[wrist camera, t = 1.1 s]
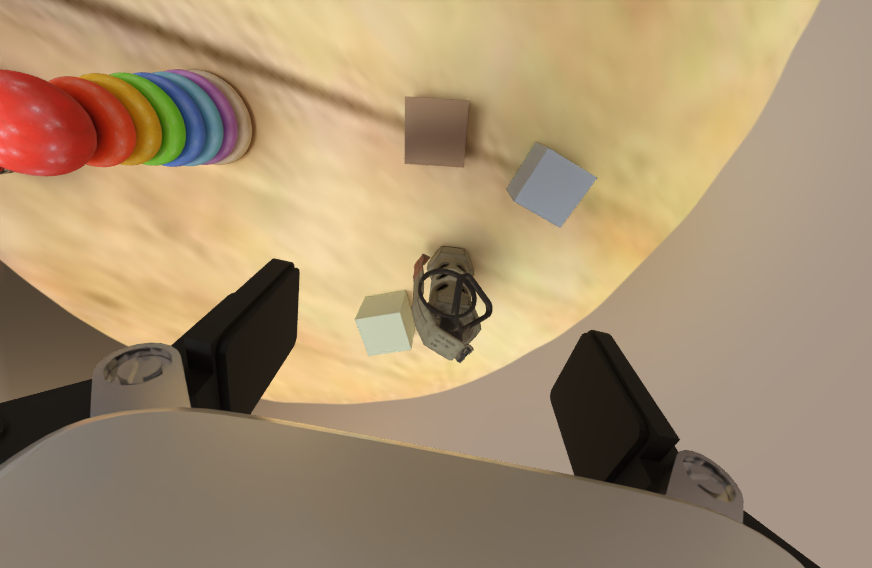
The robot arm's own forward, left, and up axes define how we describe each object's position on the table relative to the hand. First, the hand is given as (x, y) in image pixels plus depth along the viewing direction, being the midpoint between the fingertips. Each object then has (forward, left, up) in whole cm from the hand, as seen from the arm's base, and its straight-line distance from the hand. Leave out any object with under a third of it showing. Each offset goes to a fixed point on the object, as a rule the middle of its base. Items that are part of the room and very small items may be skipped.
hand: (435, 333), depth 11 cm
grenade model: (+8, +2, -26) cm, 27 cm away
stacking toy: (0, -23, -26) cm, 35 cm away
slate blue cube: (-2, +9, -26) cm, 28 cm away
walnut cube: (-4, -2, -26) cm, 27 cm away
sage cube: (+17, -3, -26) cm, 31 cm away
